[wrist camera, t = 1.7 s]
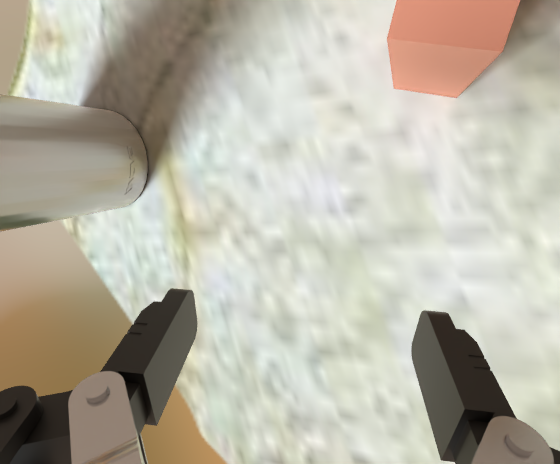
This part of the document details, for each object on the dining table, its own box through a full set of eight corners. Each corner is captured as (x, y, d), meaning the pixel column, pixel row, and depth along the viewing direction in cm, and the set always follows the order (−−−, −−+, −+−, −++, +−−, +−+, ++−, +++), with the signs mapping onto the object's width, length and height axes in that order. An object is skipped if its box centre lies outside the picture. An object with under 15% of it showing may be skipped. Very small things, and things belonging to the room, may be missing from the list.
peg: (393, 88, 23) (386, 38, 13) (411, 22, 22) (419, -89, 12) (456, 97, 22) (502, 51, 12) (478, 29, 21) (550, -88, 11)
